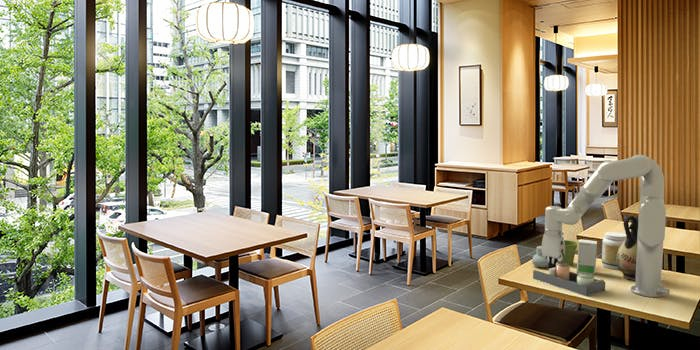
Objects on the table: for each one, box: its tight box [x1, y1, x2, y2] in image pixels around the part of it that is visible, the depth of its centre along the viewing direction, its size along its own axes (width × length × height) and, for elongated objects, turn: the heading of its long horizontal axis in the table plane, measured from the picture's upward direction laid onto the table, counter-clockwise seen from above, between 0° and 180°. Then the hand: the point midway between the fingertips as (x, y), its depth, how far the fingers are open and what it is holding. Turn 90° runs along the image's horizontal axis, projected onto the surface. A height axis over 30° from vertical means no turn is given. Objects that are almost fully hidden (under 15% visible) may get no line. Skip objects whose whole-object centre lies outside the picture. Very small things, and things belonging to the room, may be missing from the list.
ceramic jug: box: [616, 214, 639, 281], centre depth 234 cm, size 17×15×30 cm
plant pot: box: [557, 239, 579, 266], centre depth 260 cm, size 12×12×11 cm
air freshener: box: [531, 245, 548, 269], centre depth 255 cm, size 11×8×10 cm
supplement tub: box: [601, 231, 627, 271], centre depth 252 cm, size 12×12×17 cm
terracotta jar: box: [556, 262, 571, 280], centre depth 230 cm, size 6×6×9 cm
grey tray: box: [532, 269, 606, 297], centre depth 227 cm, size 28×13×5 cm, turn 30°
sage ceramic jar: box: [577, 273, 595, 286], centre depth 220 cm, size 7×7×7 cm
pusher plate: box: [548, 267, 556, 276], centre depth 234 cm, size 5×10×6 cm, turn 120°
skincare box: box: [576, 239, 598, 276], centre depth 244 cm, size 8×7×16 cm
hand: (552, 270), depth 235 cm, fingers closed
